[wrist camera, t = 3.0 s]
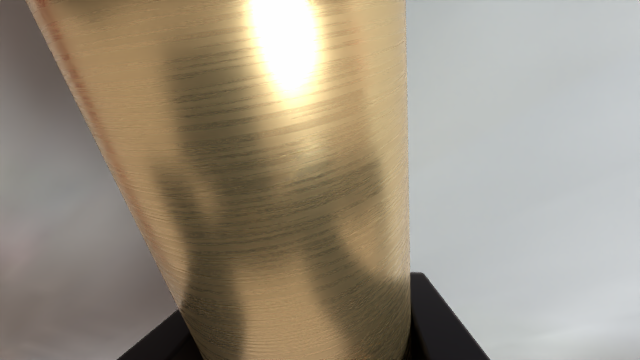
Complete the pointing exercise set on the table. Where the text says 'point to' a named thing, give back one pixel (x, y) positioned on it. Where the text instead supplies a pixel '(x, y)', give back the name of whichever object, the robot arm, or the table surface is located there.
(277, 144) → the tube
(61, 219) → the table surface
